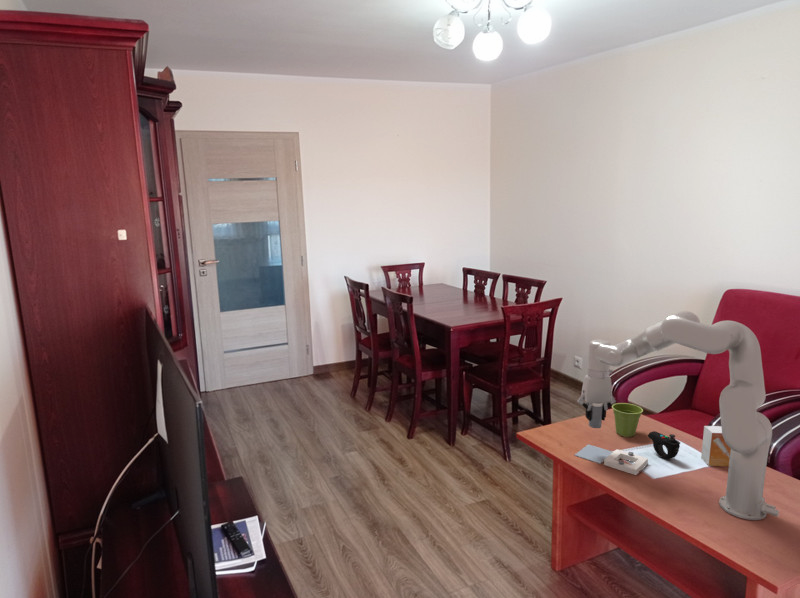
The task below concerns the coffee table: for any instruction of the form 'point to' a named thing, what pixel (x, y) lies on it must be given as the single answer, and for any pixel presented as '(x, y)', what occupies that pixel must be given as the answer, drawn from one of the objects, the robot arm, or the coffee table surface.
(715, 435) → the small box
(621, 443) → the coffee table surface
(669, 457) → the controller
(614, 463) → the frame
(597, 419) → the cartridge
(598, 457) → the mat
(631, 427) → the plant pot
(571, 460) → the coffee table surface
